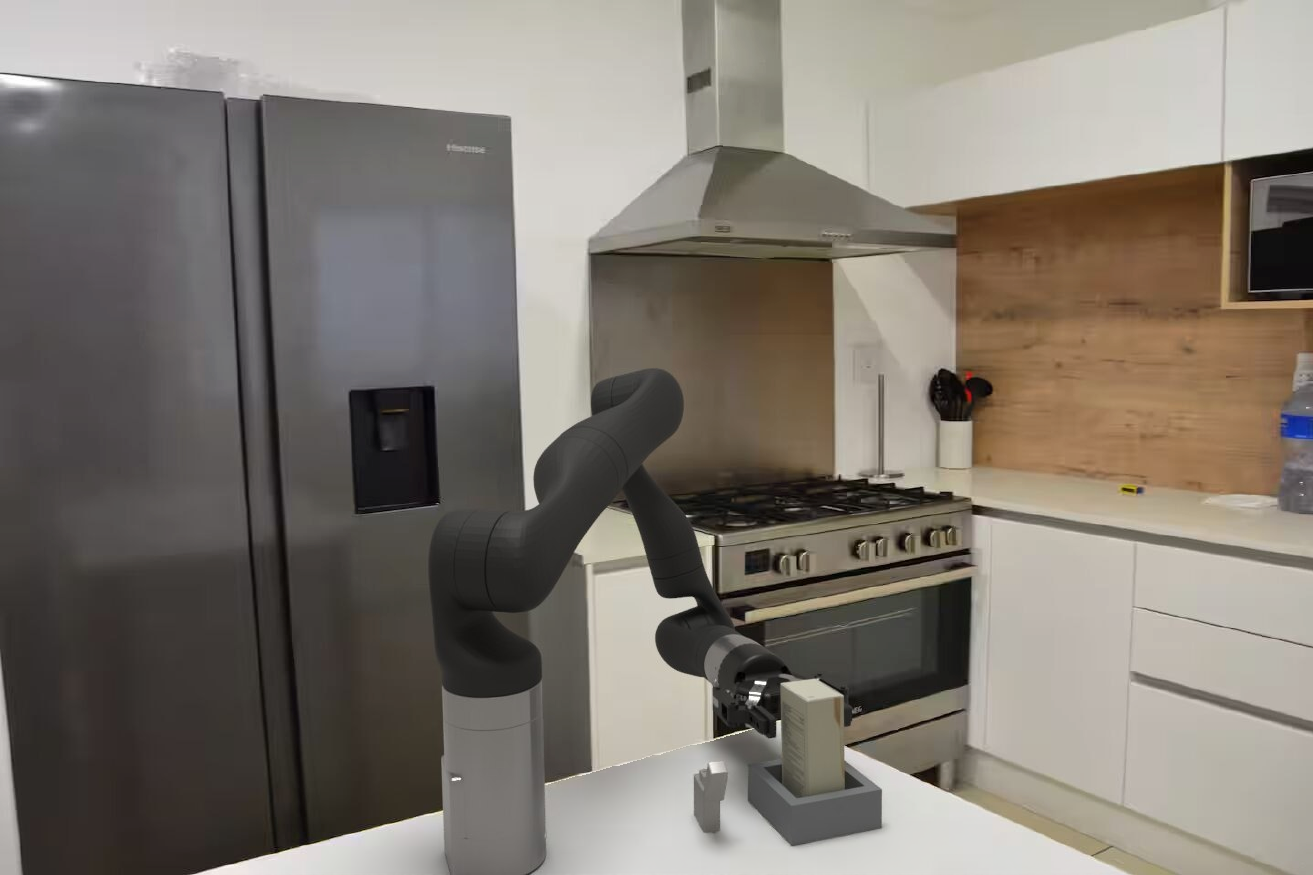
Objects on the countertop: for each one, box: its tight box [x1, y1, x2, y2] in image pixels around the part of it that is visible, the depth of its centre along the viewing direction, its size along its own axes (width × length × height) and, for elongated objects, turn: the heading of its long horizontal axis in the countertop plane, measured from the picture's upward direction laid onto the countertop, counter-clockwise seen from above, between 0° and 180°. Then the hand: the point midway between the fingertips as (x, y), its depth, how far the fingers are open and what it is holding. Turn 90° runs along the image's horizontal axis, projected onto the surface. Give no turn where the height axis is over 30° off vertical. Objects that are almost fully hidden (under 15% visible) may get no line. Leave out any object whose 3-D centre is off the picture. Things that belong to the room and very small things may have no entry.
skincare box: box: [780, 678, 846, 798], centre depth 101 cm, size 6×4×12 cm
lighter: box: [693, 760, 729, 834], centre depth 98 cm, size 7×2×8 cm, turn 12°
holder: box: [747, 758, 883, 847], centre depth 101 cm, size 10×10×4 cm
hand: (811, 723), depth 101 cm, fingers open, 8 cm apart
